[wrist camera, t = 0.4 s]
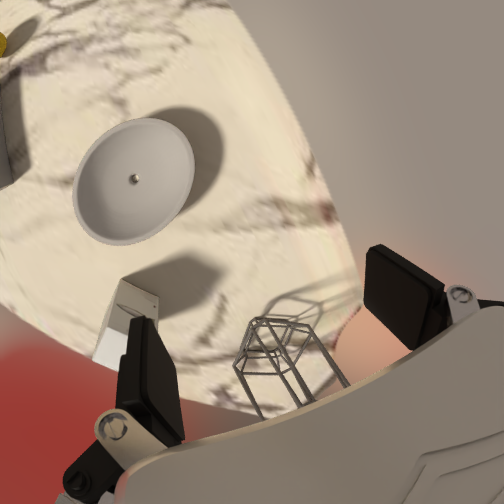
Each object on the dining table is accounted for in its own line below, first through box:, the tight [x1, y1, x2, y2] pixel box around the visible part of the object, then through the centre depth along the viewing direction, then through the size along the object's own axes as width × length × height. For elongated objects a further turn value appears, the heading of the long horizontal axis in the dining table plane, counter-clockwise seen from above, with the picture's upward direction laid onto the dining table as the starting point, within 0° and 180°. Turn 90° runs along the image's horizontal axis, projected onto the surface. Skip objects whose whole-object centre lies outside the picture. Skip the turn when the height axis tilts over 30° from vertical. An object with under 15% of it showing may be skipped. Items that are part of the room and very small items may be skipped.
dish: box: [72, 118, 195, 246], centre depth 32 cm, size 18×14×5 cm
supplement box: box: [92, 279, 159, 372], centre depth 36 cm, size 7×7×13 cm
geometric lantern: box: [232, 318, 351, 422], centre depth 37 cm, size 16×16×35 cm
